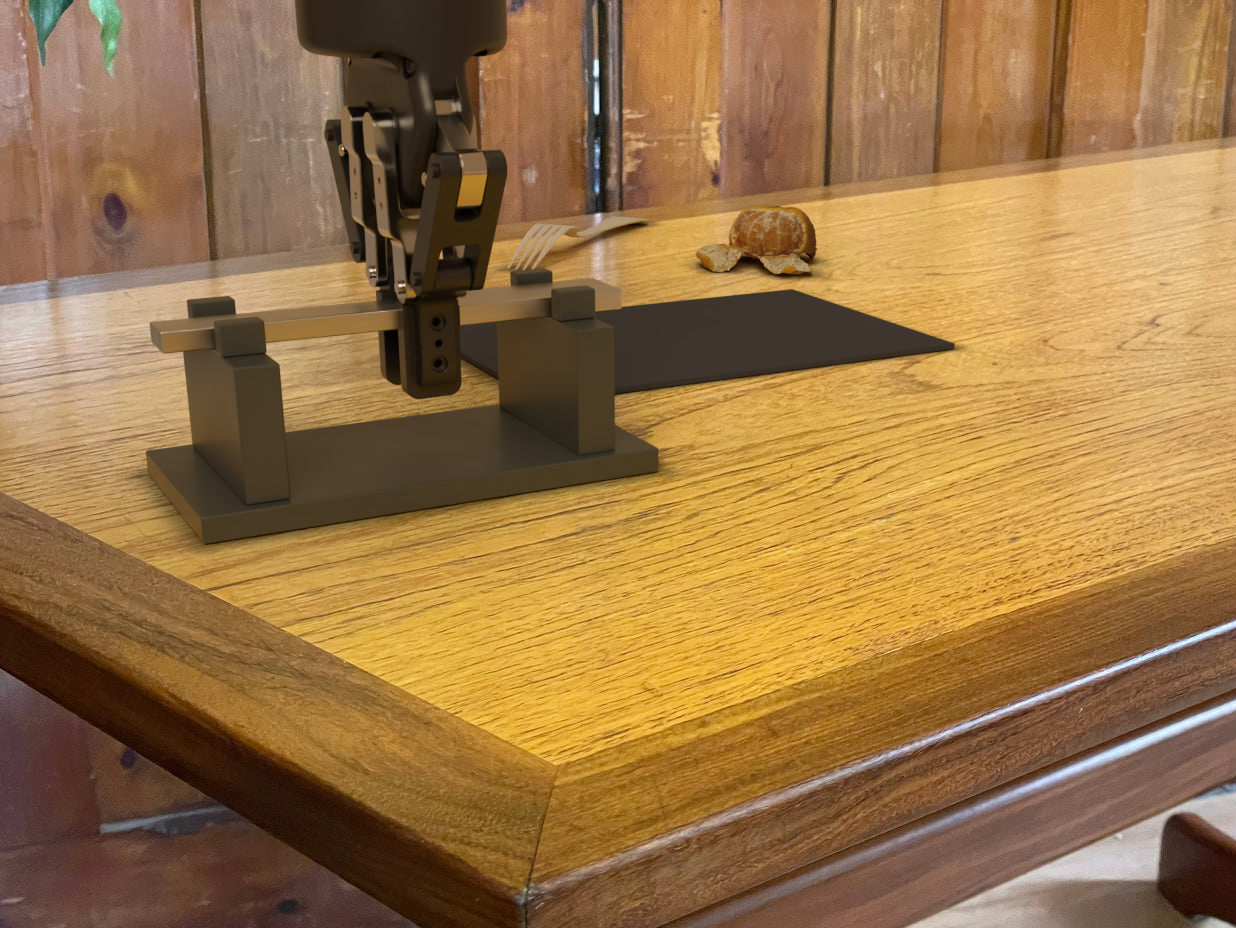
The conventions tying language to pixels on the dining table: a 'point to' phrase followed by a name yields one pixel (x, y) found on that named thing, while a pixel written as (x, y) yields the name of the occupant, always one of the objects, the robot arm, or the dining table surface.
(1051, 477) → the dining table surface
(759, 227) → the fruit
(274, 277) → the dining table surface
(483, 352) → the placemat
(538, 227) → the fork
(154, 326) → the bridge-like plank
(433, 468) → the cutlery rack
